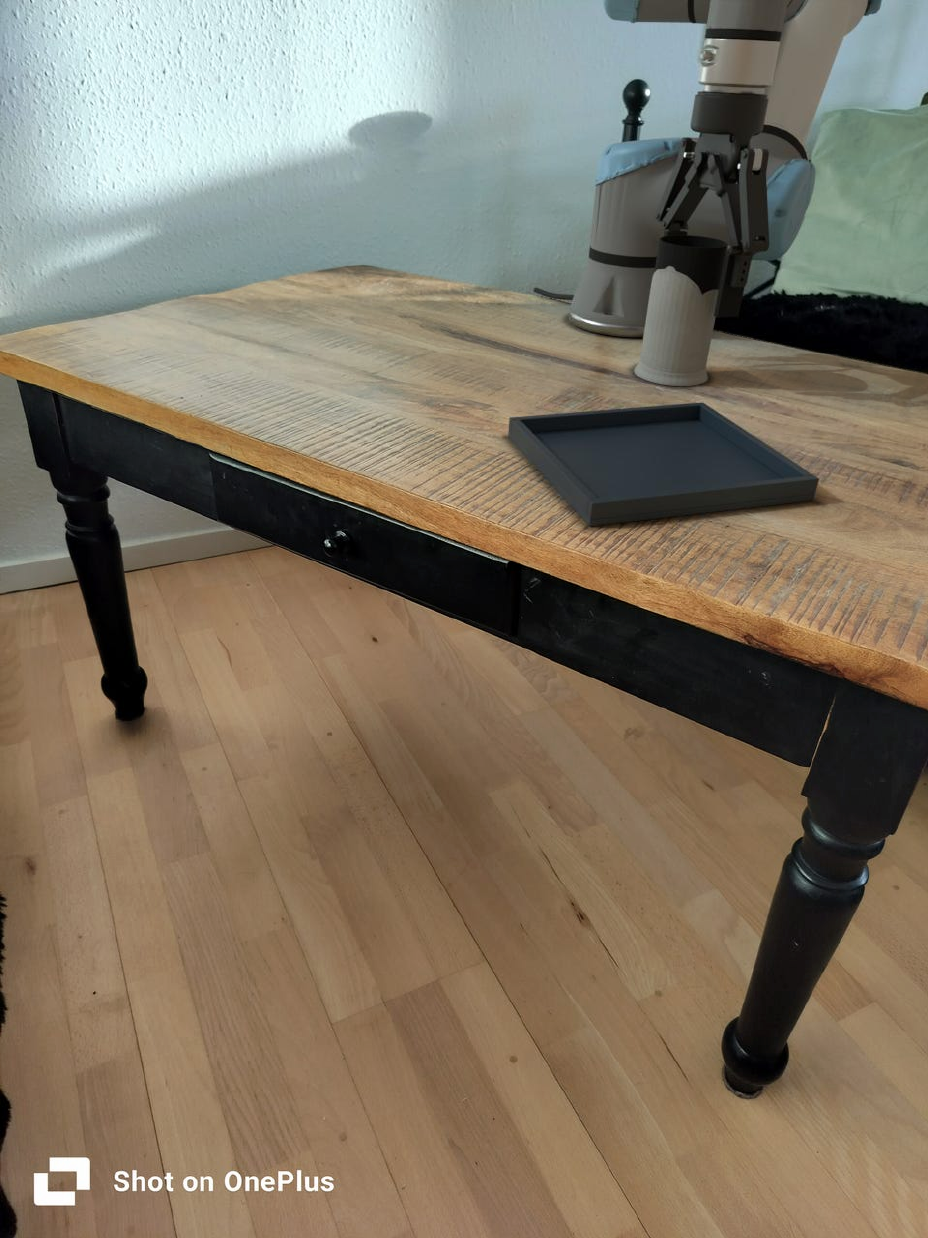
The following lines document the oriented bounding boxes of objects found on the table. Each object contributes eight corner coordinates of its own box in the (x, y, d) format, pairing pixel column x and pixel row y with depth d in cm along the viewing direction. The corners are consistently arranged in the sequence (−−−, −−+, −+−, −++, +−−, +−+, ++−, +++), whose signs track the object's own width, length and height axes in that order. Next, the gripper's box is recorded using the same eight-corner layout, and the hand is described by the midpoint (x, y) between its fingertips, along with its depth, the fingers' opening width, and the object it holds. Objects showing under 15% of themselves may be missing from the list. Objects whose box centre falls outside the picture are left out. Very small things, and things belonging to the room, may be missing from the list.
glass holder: (619, 372, 104) (638, 238, 96) (684, 350, 113) (706, 226, 105) (681, 391, 99) (706, 252, 91) (744, 367, 108) (772, 238, 100)
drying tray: (507, 437, 86) (509, 417, 85) (699, 421, 92) (702, 401, 90) (589, 526, 70) (592, 503, 69) (813, 500, 76) (819, 478, 75)
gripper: (644, 83, 99) (619, 278, 110) (771, 94, 79) (724, 331, 91) (702, 86, 101) (671, 277, 113) (840, 97, 81) (785, 328, 93)
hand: (694, 301), depth 102 cm, fingers open, 13 cm apart
